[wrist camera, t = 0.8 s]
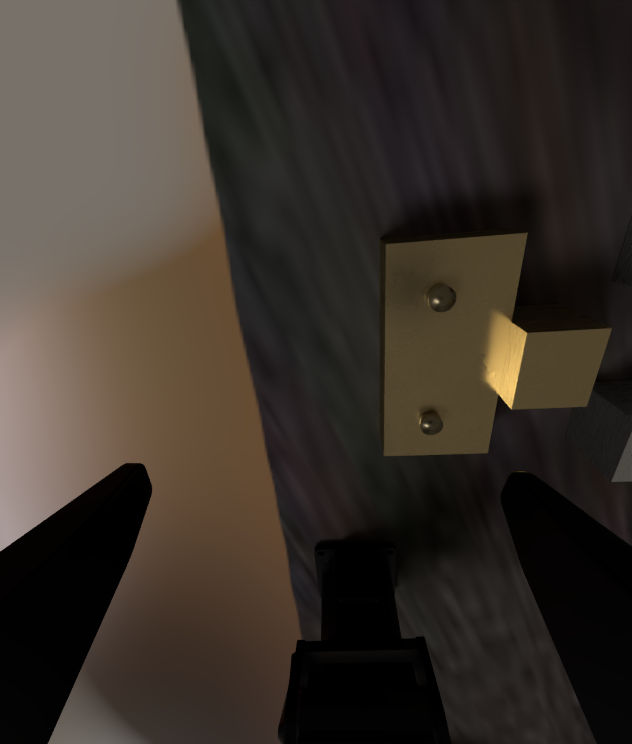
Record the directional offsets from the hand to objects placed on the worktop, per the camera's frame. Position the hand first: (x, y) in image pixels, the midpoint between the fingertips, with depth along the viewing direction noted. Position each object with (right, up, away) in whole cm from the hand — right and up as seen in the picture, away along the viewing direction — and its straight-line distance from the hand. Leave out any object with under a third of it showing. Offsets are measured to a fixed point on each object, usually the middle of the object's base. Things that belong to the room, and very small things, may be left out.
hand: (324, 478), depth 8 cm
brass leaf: (+8, +4, +11) cm, 14 cm away
